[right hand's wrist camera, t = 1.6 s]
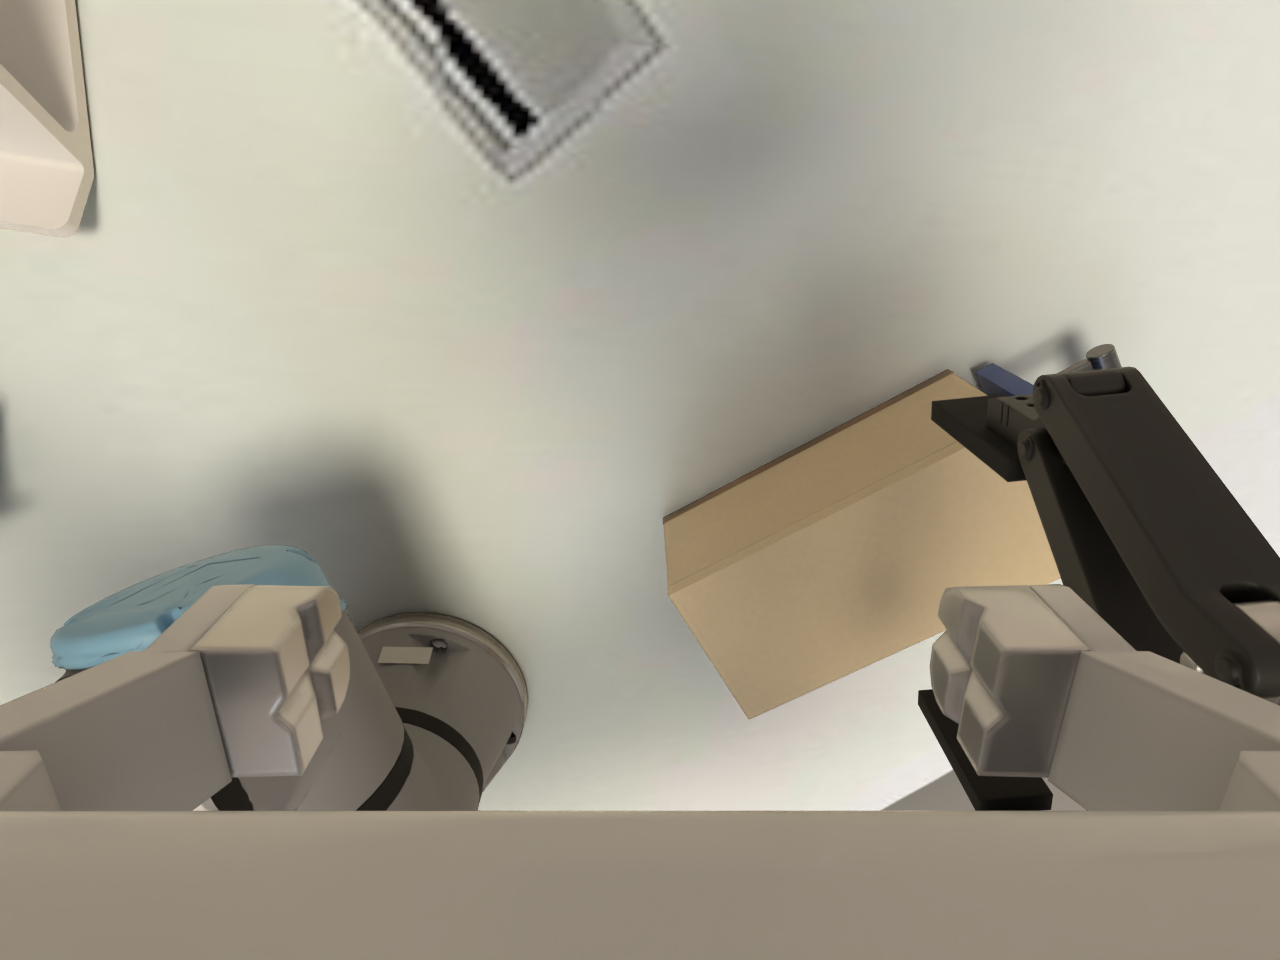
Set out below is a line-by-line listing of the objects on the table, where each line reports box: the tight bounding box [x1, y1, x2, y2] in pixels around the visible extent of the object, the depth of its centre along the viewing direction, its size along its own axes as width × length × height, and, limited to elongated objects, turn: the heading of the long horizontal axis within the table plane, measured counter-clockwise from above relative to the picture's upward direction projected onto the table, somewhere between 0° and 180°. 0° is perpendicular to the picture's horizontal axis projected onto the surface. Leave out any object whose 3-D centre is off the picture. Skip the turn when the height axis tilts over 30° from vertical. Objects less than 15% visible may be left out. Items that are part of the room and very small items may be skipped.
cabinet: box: [663, 370, 1061, 719], centre depth 49 cm, size 22×10×11 cm, turn 120°
